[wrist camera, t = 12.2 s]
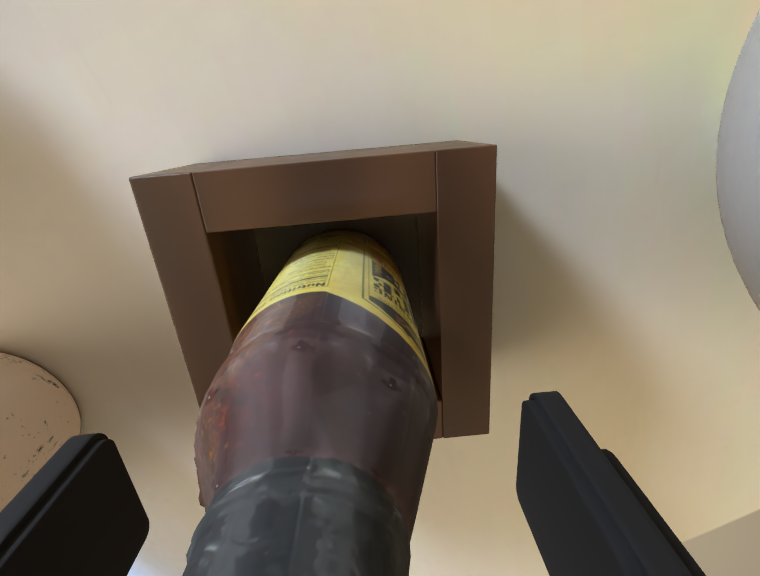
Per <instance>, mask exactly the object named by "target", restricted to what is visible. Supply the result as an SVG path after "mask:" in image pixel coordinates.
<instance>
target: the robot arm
mask: <svg viewBox="0 0 760 576" xmlns="http://www.w3.org/2000/svg"><path fill="white" fill-rule="evenodd" d="M516 490H517V496H518V499H519V502H520V505H521V507H522V510H523V512H524V515H525V517H526V520H527V522H528V524H529V527H530V529H531V532H532V534H533V536H534V539H535V541H536V544H537V546H538V549H539V551H540V553H541V556H542V558H543V561H544V563H545V566H546V568H547V570H548V573H549V575H550V576H706V575H705V574H704V572H703V571H702V570H701V568H700V567H699V566H698V564H697V563H696V562H695V560H694V559H693V558H692V557H691V555H690V554H689V552H688V551H687V550H686V548H685V547H684V546H683V545H682V543H681V542H680V541H679V539H678V538H677V537H676V535H675V534H674V533H673V531H672V530H671V529H670V527H669V526H668V525H667V523H666V522H665V521H664V519H663V518H662V517H661V515H660V514H659V513H658V512H657V510H656V509H655V508H654V506H653V505H652V504H651V502H650V501H649V500H648V498H647V497H646V496H645V494H644V493H643V492H642V490H641V489H640V488H639V486H638V485H637V484H636V482H635V481H634V480H633V479H632V477H631V476H630V475H629V473H628V472H627V471H626V469H625V468H624V467H623V465H622V464H621V463H620V461H619V460H618V459H617V458H616V457H615V455H614V454H613V453H612V452H610V451H608V450H607V449H600V448H599V446H598V445H597V443H596V442H595V441H594V439H593V438H592V437H591V435H590V434H589V432H588V431H587V430H586V428H585V427H584V426H583V424H582V423H581V421H580V420H579V419H578V417H577V416H576V415H575V413H574V412H573V411H572V409H571V408H570V406H569V405H568V404H567V402H566V401H565V400H564V398H563V397H562V395H561V394H560V393H559V392H557V391H552V392H541V393H532V394H531V395H530V397H529V400H526V401H523V403H522V411H521V424H520V438H519V452H518V466H517V480H516ZM148 531H149V519H148V517H147V515H146V512H145V510H144V508H143V506H142V503H141V501H140V499H139V497H138V494H137V492H136V490H135V488H134V485H133V483H132V481H131V479H130V476H129V474H128V472H127V470H126V467H125V465H124V463H123V461H122V458H121V456H120V454H119V452H118V449H117V447H116V445H115V443H114V441H113V440H111V439H108V437H107V436H106V435H104V434H102V433H97V434H86V435H75V436H73V437H71V438H69V439H68V440H67V441H66V442H65V443H64V444H63V445H62V446H61V447H60V448H59V449H58V451H57V452H56V453H55V454H54V455H53V456H52V457H51V458H50V459H49V460H48V461H47V462H46V463H45V465H44V466H43V467H42V468H41V469H40V470H39V471H38V472H37V473H36V474H35V475H34V476H33V477H32V478H31V480H30V481H29V482H28V483H27V484H26V485H25V486H24V487H23V488H22V489H21V490H20V491H19V492H18V494H17V495H16V496H15V497H14V498H13V499H12V500H11V501H10V502H9V503H8V504H7V505H6V506H5V508H4V509H3V510H2V511H1V512H0V576H127V574H128V572H129V570H130V569H131V567H132V565H133V563H134V561H135V559H136V557H137V555H138V553H139V551H140V549H141V547H142V545H143V544H144V542H145V540H146V537H147V535H148Z"/></svg>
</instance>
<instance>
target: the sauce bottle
mask: <svg viewBox="0 0 760 576" xmlns="http://www.w3.org/2000/svg"><path fill="white" fill-rule="evenodd" d="M437 416H438V404H437V397H436V393H435V388H434V385H433V381H432V378H431V374H430V371H429V368H428V364H427V361H426V358H425V354H424V351H423V348H422V344H421V341H420V337H419V334H418V330H417V326H416V323H415V320H414V317H413V314H412V310H411V307H410V304H409V301H408V297H407V294H406V291H405V287H404V284H403V280H402V277H401V274H400V270H399V268H398V266H397V264H396V262H395V260H394V258H393V257H392V256H391V254H390V253H389V252H388V251H387V250H386V249H385V248H384V247H383V245H382V244H381V243H380V242H379V241H377V240H374V239H372V238H370V237H368V236H366V235H364V234H362V233H359V232H355V231H351V230H345V229H333V230H330V231H327V232H324V233H320V234H318V235H316V236H313V237H311V238H309V239H308V240H306V241H305V242H304V243H302V244H301V245H300V246H299V247H298V248H297V249H296V250H295V251H294V253H293V254H292V255H291V256H290V258H289V259H288V261H287V262H286V264H285V265H284V267H283V268H282V270H281V271H280V273H279V274H278V276H277V277H276V279H275V280H274V282H273V283H272V285H271V286H270V288H269V289H268V291H267V292H266V294H265V296H264V297H263V299H262V300H261V301H260V303H259V304H258V306H257V307H256V309H255V310H254V312H253V313H252V315H251V316H250V318H249V319H248V321H247V322H246V324H245V325H244V327H243V328H242V330H241V331H240V333H239V334H238V336H237V338H236V339H235V341H234V343H233V346H232V348H231V351H230V354H229V356H228V357H227V359H226V360H225V362H224V363H223V364H222V366H221V367H220V369H219V370H218V371H217V373H216V375H215V377H214V379H213V381H212V383H211V385H210V387H209V389H208V390H207V392H206V394H205V397H204V400H203V401H202V404H201V408H200V413H199V417H198V420H197V422H196V423H197V429H196V434H195V444H194V447H195V464H196V467H197V476H198V484H199V488H200V493H199V502H200V505H201V506H203V507H205V512H206V513H205V515H204V517H203V518H202V520H201V521H200V523H199V524H198V526H197V528H196V530H195V532H194V534H193V537H192V540H191V545H190V547H189V549H188V552H187V554H186V557H187V566H186V568H185V571H184V573H183V576H409V566H410V558H411V555H410V540H411V536H412V532H413V527H414V523H415V519H416V514H417V510H418V505H419V501H420V496H421V492H422V487H423V483H424V479H425V474H426V470H427V465H428V461H429V456H430V451H431V447H432V442H433V438H434V434H435V430H436V424H437Z"/></svg>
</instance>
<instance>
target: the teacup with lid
mask: <svg viewBox="0 0 760 576" xmlns="http://www.w3.org/2000/svg"><path fill="white" fill-rule="evenodd" d="M80 430H81V420H80V414H79V411H78V408H77V405H76V403H75V401H74V399H73V397H72V396H71V395H70V393H69V392H68V390H67V389H66V388H65V387H64V386H63V385H62V384H61V383H60V382H59V381H58V380H57V379H56V378H55V377H54V376H52V375H51V374H50V373H48V372H47V371H45V370H44V369H42V368H41V367H39V366H37V365H35V364H33V363H31V362H29V361H27V360H24V359H22V358H19V357H16V356H13V355H9V354H5V353H0V512H1V511H2V510H3V509H4V508H5V506H6V505H7V504H8V503H9V502H10V501H11V500H12V499H13V498H14V497H15V496H16V495H17V494H18V492H19V491H20V490H21V489H22V488H23V487H24V486H25V485H26V484H27V483H28V482H29V481H30V480H31V478H32V477H33V476H34V475H35V474H36V473H37V472H38V471H39V470H40V469H41V468H42V467H43V466H44V465H45V463H46V462H47V461H48V460H49V459H50V458H51V457H52V456H53V455H54V454H55V453H56V452H57V451H58V449H59V448H60V447H61V446H62V445H63V444H64V443H65V442H66V441H67V440H68V439H69V438H71V437H73V436H75V435H80Z"/></svg>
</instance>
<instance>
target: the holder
mask: <svg viewBox="0 0 760 576" xmlns="http://www.w3.org/2000/svg"><path fill="white" fill-rule="evenodd" d="M496 157H497V145H493V144H484V143H475V142H466V141H446V142H435V143H424V144H415V145H401V146H390V147H379V148H368V149H356V150H345V151H334V152H323V153H311V154H300V155H289V156H278V157H266V158H255V159H244V160H233V161H222V162H211V163H199V164H192V165H187V166H182V167H178V168H173V169H168V170H163V171H158V172H154V173H149V174H144V175H139V176H134V177H130V178H129V181H130V184H131V187H132V191H133V194H134V197H135V200H136V203H137V207H138V210H139V213H140V216H141V220H142V223H143V226H144V229H145V232H146V236H147V239H148V242H149V245H150V249H151V252H152V255H153V258H154V262H155V265H156V268H157V271H158V274H159V278H160V281H161V284H162V287H163V291H164V294H165V297H166V300H167V303H168V307H169V310H170V313H171V316H172V320H173V323H174V326H175V329H176V333H177V336H178V339H179V342H180V345H181V349H182V352H183V355H184V358H185V362H186V365H187V368H188V371H189V374H190V378H191V381H192V384H193V387H194V391H195V394H196V397H197V400H198V404H199V407H200V408H201V404H202V401H203V400H204V397H205V394H206V392H207V390H208V389H209V387H210V385H211V383H212V381H213V379H214V377H215V375H216V373H217V371H218V370H219V369H220V367H221V366H222V364H223V363H224V362H225V360H226V359H227V357H228V356H229V354H230V351H231V348H232V346H233V343H234V341H235V339H236V338H237V336H238V334H239V333H240V331H241V330H242V328H243V327H244V325H245V324H246V322H247V321H248V319H249V318H250V316H251V315H252V313H253V312H254V310H255V309H256V307H257V306H258V304H259V303H260V301H261V300H262V299H263V297H264V296H265V294H266V291H265V286H264V281H263V276H262V271H261V267H260V262H259V257H258V252H257V247H256V242H255V237H254V233H253V229H257V228H268V227H279V226H289V225H300V224H311V223H322V222H333V221H344V220H355V219H366V218H377V217H388V216H399V215H410V214H417V223H418V244H419V265H420V287H421V308H422V330H423V338H420V341H421V344H422V348H423V351H424V354H425V358H426V361H427V364H428V368H429V371H430V374H431V378H432V381H433V385H434V388H435V393H436V397H437V404H438V416H437V424H436V430H435V434H434V438H433V439H437V438H442V437H444V438H450V437H460V436H470V435H480V434H489V417H490V380H491V343H492V306H493V269H494V232H495V194H496Z"/></svg>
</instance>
